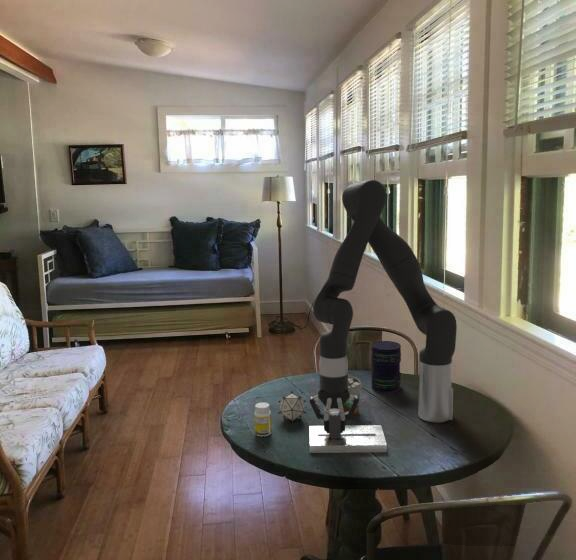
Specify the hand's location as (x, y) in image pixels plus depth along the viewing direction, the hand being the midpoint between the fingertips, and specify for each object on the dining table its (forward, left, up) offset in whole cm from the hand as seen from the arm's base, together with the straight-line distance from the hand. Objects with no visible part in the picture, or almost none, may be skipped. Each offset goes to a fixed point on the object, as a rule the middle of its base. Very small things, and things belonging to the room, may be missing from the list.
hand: (334, 431), depth 156 cm
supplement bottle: (+20, -6, -3) cm, 21 cm away
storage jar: (-19, -40, -3) cm, 44 cm away
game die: (+12, -15, -3) cm, 19 cm away
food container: (-6, -19, -3) cm, 20 cm away
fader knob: (0, 0, -1) cm, 1 cm away
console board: (-3, 0, -3) cm, 4 cm away
